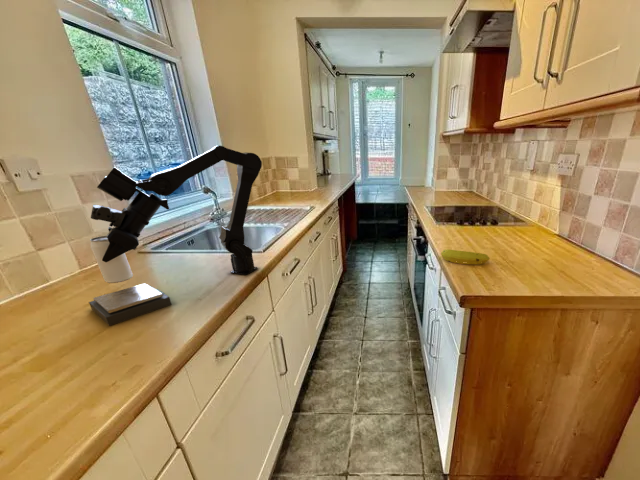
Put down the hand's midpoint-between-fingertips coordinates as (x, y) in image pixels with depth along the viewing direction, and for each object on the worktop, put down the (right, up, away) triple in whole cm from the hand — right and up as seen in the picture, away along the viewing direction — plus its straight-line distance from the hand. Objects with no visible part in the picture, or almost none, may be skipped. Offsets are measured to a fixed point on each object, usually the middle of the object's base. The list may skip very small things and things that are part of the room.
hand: (104, 258), depth 87 cm
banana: (+107, +4, +33) cm, 112 cm away
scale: (+8, -13, 0) cm, 16 cm away
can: (+1, -6, +4) cm, 7 cm away
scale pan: (+8, -11, -2) cm, 14 cm away
